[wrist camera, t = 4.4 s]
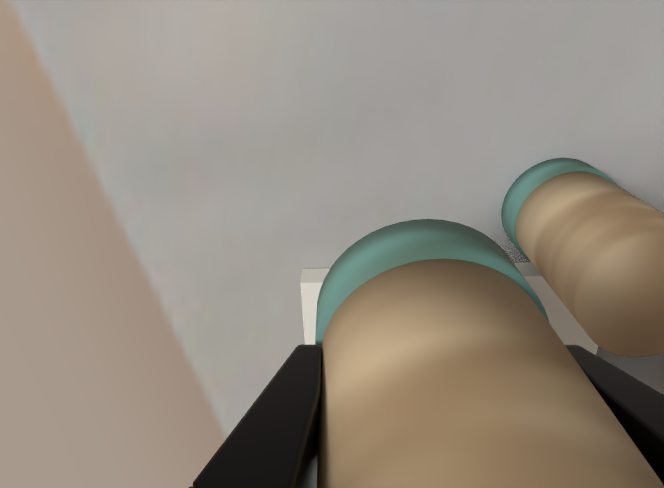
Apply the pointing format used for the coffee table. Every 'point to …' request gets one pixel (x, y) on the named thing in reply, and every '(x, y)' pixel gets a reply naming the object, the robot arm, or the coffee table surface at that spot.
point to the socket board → (553, 305)
